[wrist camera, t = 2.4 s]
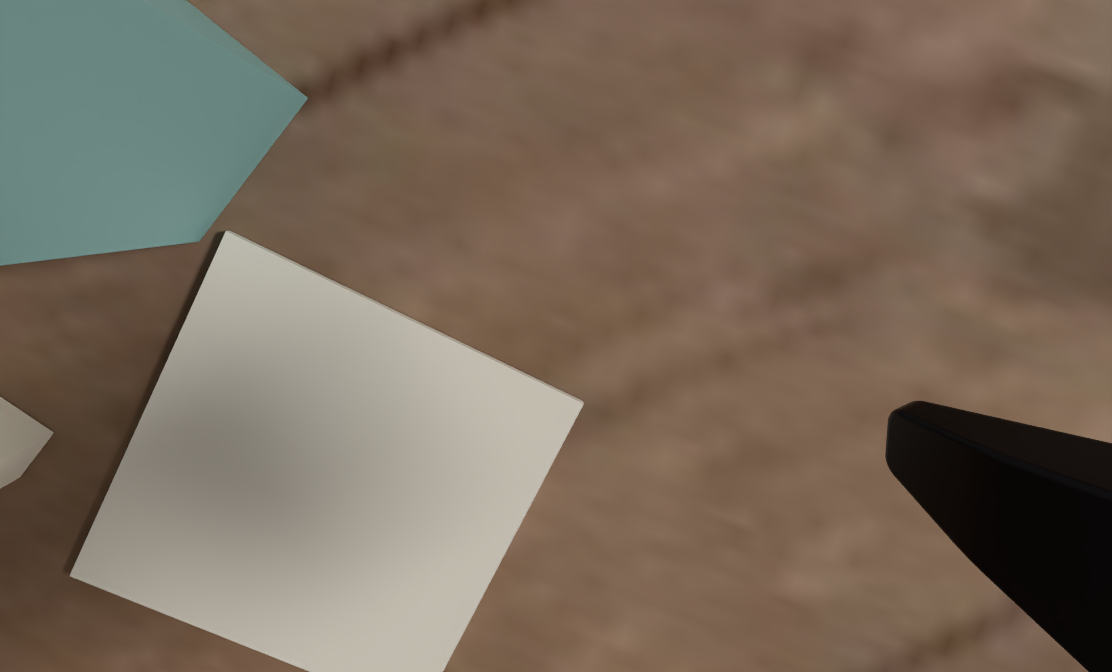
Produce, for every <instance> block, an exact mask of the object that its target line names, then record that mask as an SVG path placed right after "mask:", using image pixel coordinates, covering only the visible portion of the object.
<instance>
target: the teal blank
mask: <svg viewBox="0 0 1112 672" xmlns="http://www.w3.org/2000/svg"><path fill="white" fill-rule="evenodd" d="M307 99H308V98H307V97H306V96H305V95H304V94H302V93H301V92H300V91H299V90H297V89H296V88H295V87H294V86H292V85H291V84H290V83H289V82H287V81H286V80H285V79H284V78H282V77H281V76H280V75H279V74H277V73H276V72H275V71H274V70H273V69H271V68H270V67H269V66H268V65H266V64H265V63H264V62H263V61H261V60H260V59H259V58H258V57H256V56H255V55H254V54H253V53H251V52H250V51H249V50H248V49H246V48H245V47H244V46H243V45H241V44H240V43H239V42H238V41H236V40H235V39H234V38H233V37H231V36H230V35H229V34H228V33H226V32H225V31H224V30H223V29H221V28H220V27H219V26H218V25H217V24H215V23H214V22H213V21H212V20H210V19H209V18H208V17H207V16H205V15H204V14H203V13H202V12H200V11H199V10H198V9H197V8H195V7H194V6H193V5H192V4H190V3H189V2H188V1H187V0H0V266H1V265H9V264H17V263H26V262H34V261H42V260H51V259H59V258H67V257H75V256H84V255H92V254H100V253H109V252H117V251H125V250H133V249H142V248H150V247H158V246H167V245H175V244H183V243H192V242H199V241H200V240H201V239H202V237H203V236H204V235H205V233H206V232H207V231H208V229H209V228H210V227H211V226H212V224H213V223H214V222H215V220H216V219H217V218H218V216H219V215H220V214H221V212H222V211H223V210H224V208H225V207H226V206H227V204H228V203H229V202H230V200H231V199H232V198H233V197H234V195H235V194H236V193H237V191H238V190H239V189H240V187H241V186H242V185H243V183H244V182H245V181H246V179H247V178H248V177H249V175H250V174H251V173H252V171H253V170H254V169H255V168H256V166H257V165H258V164H259V162H260V161H261V160H262V158H263V157H264V156H265V154H266V153H267V152H268V150H269V149H270V148H271V146H272V145H273V144H274V142H275V141H276V140H277V139H278V137H279V136H280V135H281V133H282V132H283V131H284V129H285V128H286V127H287V125H288V124H289V123H290V121H291V120H292V119H293V117H294V116H295V115H296V113H297V112H298V111H299V110H300V108H301V107H302V106H303V104H304V103H305V102H306V100H307Z"/></svg>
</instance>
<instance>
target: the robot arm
mask: <svg viewBox="0 0 1112 672" xmlns="http://www.w3.org/2000/svg"><path fill="white" fill-rule="evenodd" d="M885 456H886V462H887V465H888V467H889V469H890V470H891V472H892V473H893V475H894V476H895V477H896V478H897V479H898V481H899V482H900V483H901V484H902V485H903V486H904V487H905V488H906V490H907V491H908V492H909V493H910V494H911V495H912V496H913V497H914V499H915V500H916V501H917V502H918V503H919V504H920V505H921V506H922V508H923V509H924V510H925V511H926V512H927V513H928V514H929V515H930V517H931V518H932V519H933V520H934V521H935V522H936V523H937V524H938V526H939V527H940V528H941V529H942V530H943V531H944V532H945V533H946V535H947V536H948V537H949V538H950V539H951V540H952V541H953V543H954V544H955V545H956V546H957V547H958V548H959V549H960V550H961V551H962V552H963V553H964V554H965V555H966V557H967V558H968V559H969V560H970V561H971V562H972V563H973V564H974V565H975V566H976V567H977V568H979V569H980V570H981V571H982V572H983V573H984V574H985V575H986V576H987V577H988V578H989V579H990V580H991V581H992V582H993V583H994V584H995V585H996V586H998V587H999V588H1000V589H1001V590H1002V591H1003V592H1004V593H1005V594H1006V595H1007V596H1008V597H1009V598H1010V599H1011V600H1013V601H1014V602H1015V603H1016V604H1017V605H1018V606H1019V607H1020V608H1021V609H1022V610H1023V611H1024V612H1025V613H1026V614H1027V615H1029V616H1030V617H1031V618H1032V619H1033V620H1034V621H1035V622H1036V623H1037V624H1038V625H1039V626H1040V627H1041V628H1042V629H1044V630H1045V631H1046V632H1047V633H1048V634H1049V635H1050V636H1051V637H1052V638H1053V639H1054V640H1055V641H1056V642H1057V643H1059V644H1060V645H1061V646H1062V647H1063V648H1064V649H1065V650H1066V651H1067V652H1068V653H1069V654H1070V655H1071V656H1072V657H1073V658H1075V659H1076V660H1077V661H1078V662H1079V663H1080V664H1081V665H1082V666H1083V667H1084V668H1085V669H1086V670H1087V671H1088V672H1112V443H1108V442H1103V441H1099V440H1094V439H1090V438H1085V437H1081V436H1076V435H1072V434H1068V433H1063V432H1059V431H1054V430H1050V429H1045V428H1041V427H1036V426H1032V425H1027V424H1023V423H1019V422H1014V421H1010V420H1005V419H1001V418H996V417H992V416H987V415H983V414H978V413H974V412H969V411H965V410H961V409H956V408H952V407H947V406H943V405H938V404H934V403H929V402H925V401H913V402H910V403H908V404H906V405H904V406H902V407H900V408H898V409H896V410H894V411H893V412H891V414H890V416H889V418H888V427H887V440H886V454H885Z"/></svg>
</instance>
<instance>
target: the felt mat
mask: <svg viewBox="0 0 1112 672" xmlns="http://www.w3.org/2000/svg"><path fill="white" fill-rule="evenodd" d="M583 404H584V403H583V401H582V400H580V399H578V398H575V397H573V396H571V395H569V394H567V393H565V392H563V391H561V390H559V389H557V388H555V387H553V386H551V385H549V384H546V383H544V382H542V381H540V380H538V379H536V378H534V377H532V376H530V375H528V374H526V373H524V372H522V371H520V370H517V369H515V368H513V367H511V366H509V365H507V364H505V363H503V362H501V361H499V360H497V359H495V358H493V357H491V356H488V355H486V354H484V353H482V352H480V351H478V350H476V349H474V348H472V347H470V346H468V345H466V344H464V343H462V342H459V341H457V340H455V339H453V338H451V337H449V336H447V335H445V334H443V333H441V332H439V331H437V330H435V329H432V328H430V327H428V326H426V325H424V324H422V323H420V322H418V321H416V320H414V319H412V318H410V317H408V316H406V315H403V314H401V313H399V312H397V311H395V310H393V309H391V308H389V307H387V306H385V305H383V304H381V303H379V302H377V301H374V300H372V299H370V298H368V297H366V296H364V295H362V294H360V293H358V292H356V291H354V290H352V289H350V288H348V287H345V286H343V285H341V284H339V283H337V282H335V281H333V280H331V279H329V278H327V277H325V276H323V275H321V274H319V273H316V272H314V271H312V270H310V269H308V268H306V267H304V266H302V265H300V264H298V263H296V262H294V261H292V260H290V259H287V258H285V257H283V256H281V255H279V254H277V253H275V252H273V251H271V250H269V249H267V248H265V247H263V246H261V245H258V244H256V243H254V242H252V241H250V240H248V239H246V238H244V237H242V236H240V235H238V234H236V233H234V232H231V231H226V232H225V234H224V236H223V238H222V241H221V243H220V245H219V247H218V249H217V252H216V254H215V256H214V258H213V261H212V263H211V265H210V267H209V269H208V272H207V274H206V276H205V278H204V280H203V283H202V285H201V287H200V289H199V291H198V294H197V296H196V298H195V300H194V302H193V305H192V307H191V309H190V311H189V313H188V316H187V318H186V320H185V322H184V324H183V327H182V329H181V331H180V333H179V335H178V338H177V340H176V342H175V344H174V346H173V349H172V351H171V353H170V355H169V358H168V360H167V362H166V364H165V366H164V369H163V371H162V373H161V375H160V377H159V380H158V382H157V384H156V386H155V388H154V391H153V393H152V395H151V397H150V399H149V402H148V404H147V406H146V408H145V410H144V413H143V415H142V417H141V419H140V421H139V424H138V426H137V428H136V430H135V432H134V435H133V437H132V439H131V441H130V443H129V446H128V448H127V450H126V452H125V455H124V457H123V459H122V461H121V463H120V466H119V468H118V470H117V472H116V474H115V477H114V479H113V481H112V483H111V485H110V488H109V490H108V492H107V494H106V496H105V499H104V501H103V503H102V505H101V507H100V510H99V512H98V514H97V516H96V518H95V521H94V523H93V525H92V527H91V529H90V532H89V534H88V536H87V538H86V540H85V543H84V545H83V547H82V549H81V551H80V554H79V556H78V558H77V560H76V563H75V565H74V567H73V569H72V571H71V574H70V577H73V578H76V579H78V580H81V581H83V582H86V583H88V584H91V585H93V586H96V587H98V588H101V589H103V590H106V591H108V592H111V593H113V594H116V595H118V596H121V597H123V598H126V599H128V600H131V601H133V602H136V603H138V604H141V605H143V606H146V607H148V608H151V609H153V610H156V611H158V612H161V613H163V614H166V615H168V616H171V617H174V618H176V619H179V620H181V621H184V622H186V623H189V624H191V625H194V626H196V627H199V628H201V629H204V630H206V631H209V632H211V633H214V634H216V635H219V636H221V637H224V638H226V639H229V640H231V641H234V642H236V643H239V644H241V645H244V646H246V647H249V648H251V649H254V650H256V651H259V652H261V653H264V654H266V655H269V656H271V657H274V658H277V659H279V660H282V661H284V662H287V663H289V664H292V665H294V666H297V667H299V668H302V669H304V670H307V671H309V672H443V671H444V669H445V667H446V665H447V663H448V661H449V659H450V657H451V655H452V653H453V652H454V650H455V648H456V646H457V644H458V642H459V640H460V638H461V636H462V634H463V633H464V631H465V629H466V627H467V625H468V623H469V621H470V619H471V617H472V615H473V613H474V612H475V610H476V608H477V606H478V604H479V602H480V600H481V598H482V596H483V594H484V593H485V591H486V589H487V587H488V585H489V583H490V581H491V579H492V577H493V575H494V574H495V572H496V570H497V568H498V566H499V564H500V562H501V560H502V558H503V556H504V555H505V553H506V551H507V549H508V547H509V545H510V543H511V541H512V539H513V537H514V535H515V534H516V532H517V530H518V528H519V526H520V524H521V522H522V520H523V518H524V516H525V515H526V513H527V511H528V509H529V507H530V505H531V503H532V501H533V499H534V497H535V496H536V494H537V492H538V490H539V488H540V486H541V484H542V482H543V480H544V478H545V477H546V475H547V473H548V471H549V469H550V467H551V465H552V463H553V461H554V459H555V457H556V456H557V454H558V452H559V450H560V448H561V446H562V444H563V442H564V440H565V438H566V437H567V435H568V433H569V431H570V429H571V427H572V425H573V423H574V421H575V419H576V418H577V416H578V414H579V412H580V410H581V408H582V406H583Z"/></svg>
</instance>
